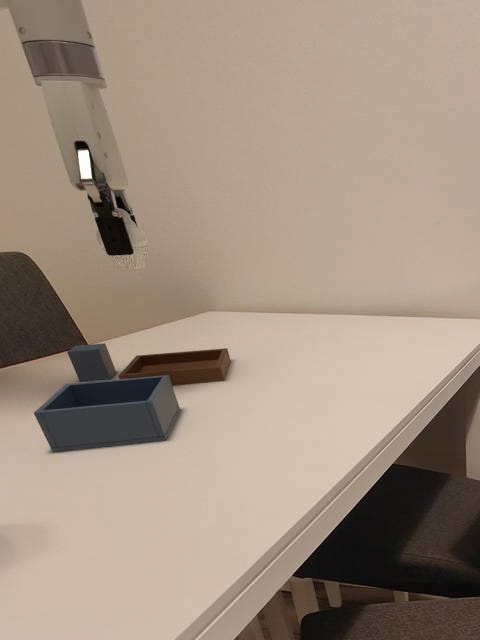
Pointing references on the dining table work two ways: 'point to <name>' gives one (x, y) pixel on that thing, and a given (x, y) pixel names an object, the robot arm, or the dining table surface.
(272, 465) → the dining table surface
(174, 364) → the brown tray
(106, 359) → the blue block
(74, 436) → the blue bin
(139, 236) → the muffin
